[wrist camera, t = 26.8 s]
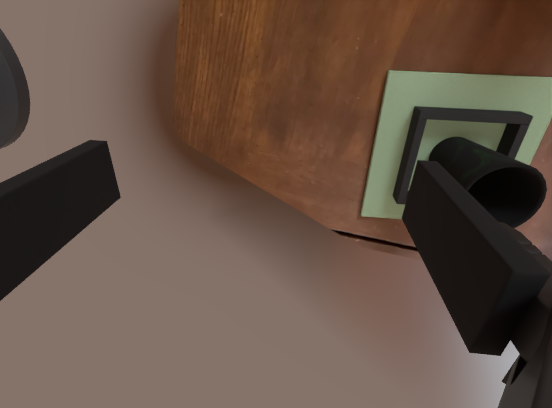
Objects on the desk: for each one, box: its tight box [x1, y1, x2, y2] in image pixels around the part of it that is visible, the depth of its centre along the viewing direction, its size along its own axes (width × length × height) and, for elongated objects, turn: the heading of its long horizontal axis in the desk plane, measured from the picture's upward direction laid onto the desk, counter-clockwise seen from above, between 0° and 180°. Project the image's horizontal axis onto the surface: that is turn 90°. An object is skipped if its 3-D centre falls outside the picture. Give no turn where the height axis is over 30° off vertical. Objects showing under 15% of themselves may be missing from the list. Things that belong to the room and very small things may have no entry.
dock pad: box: [360, 70, 552, 219], centre depth 39 cm, size 20×20×3 cm
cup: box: [429, 137, 547, 228], centre depth 35 cm, size 8×8×12 cm
